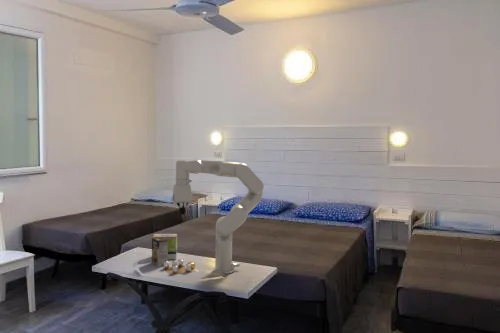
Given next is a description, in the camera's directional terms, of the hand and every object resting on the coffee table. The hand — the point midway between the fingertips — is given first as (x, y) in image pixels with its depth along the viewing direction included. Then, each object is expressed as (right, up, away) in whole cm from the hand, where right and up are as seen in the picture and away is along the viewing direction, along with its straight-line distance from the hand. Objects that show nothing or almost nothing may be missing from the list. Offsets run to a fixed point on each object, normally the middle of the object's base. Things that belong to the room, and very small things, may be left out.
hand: (182, 214), depth 243 cm
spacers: (-3, -32, 0) cm, 32 cm away
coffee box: (-15, -33, +12) cm, 38 cm away
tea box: (-16, -32, +30) cm, 47 cm away
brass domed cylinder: (+5, -32, +4) cm, 32 cm away
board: (-1, -33, +1) cm, 33 cm away
